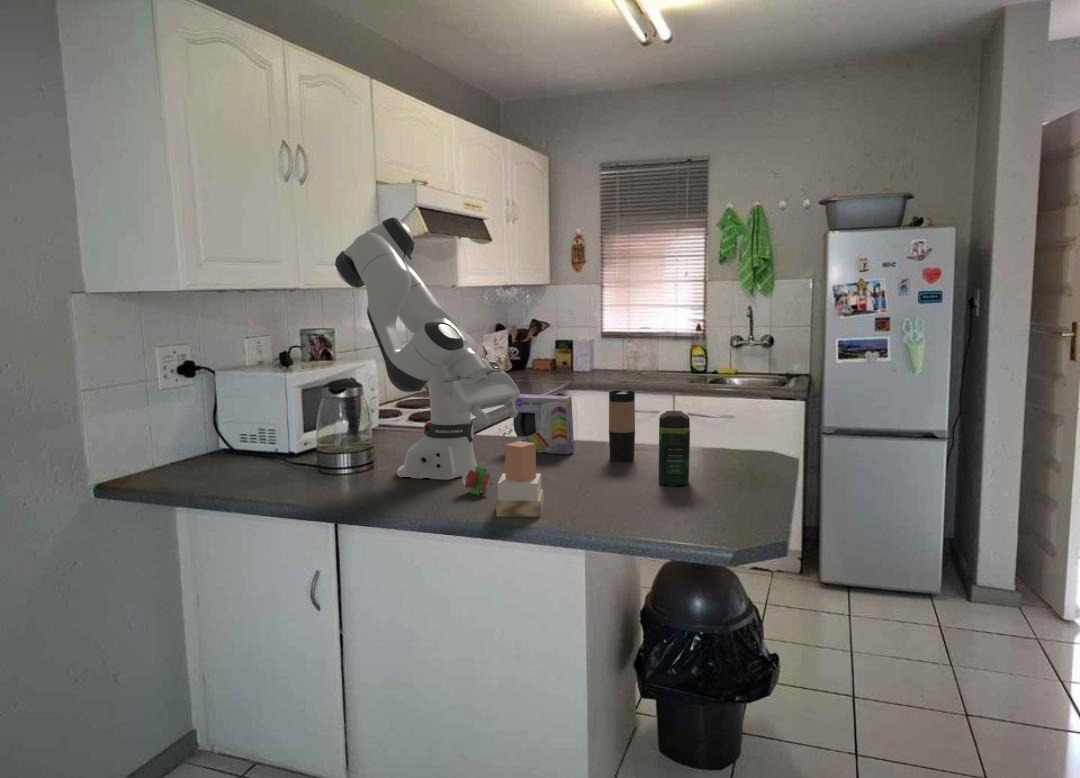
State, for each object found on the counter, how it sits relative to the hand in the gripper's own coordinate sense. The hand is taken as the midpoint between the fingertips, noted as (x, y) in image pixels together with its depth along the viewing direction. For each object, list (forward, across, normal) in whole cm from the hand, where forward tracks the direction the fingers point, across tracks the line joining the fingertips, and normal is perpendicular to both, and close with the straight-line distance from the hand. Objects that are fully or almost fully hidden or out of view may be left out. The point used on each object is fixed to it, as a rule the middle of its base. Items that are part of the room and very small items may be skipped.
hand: (502, 419), depth 178 cm
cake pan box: (-5, +50, +34) cm, 61 cm away
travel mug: (+13, +55, +16) cm, 59 cm away
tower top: (+16, -1, +8) cm, 18 cm away
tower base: (+19, -1, +11) cm, 22 cm away
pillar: (+14, -1, +5) cm, 14 cm away
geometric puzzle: (+6, +3, +23) cm, 24 cm away
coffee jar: (+31, +41, -2) cm, 51 cm away
